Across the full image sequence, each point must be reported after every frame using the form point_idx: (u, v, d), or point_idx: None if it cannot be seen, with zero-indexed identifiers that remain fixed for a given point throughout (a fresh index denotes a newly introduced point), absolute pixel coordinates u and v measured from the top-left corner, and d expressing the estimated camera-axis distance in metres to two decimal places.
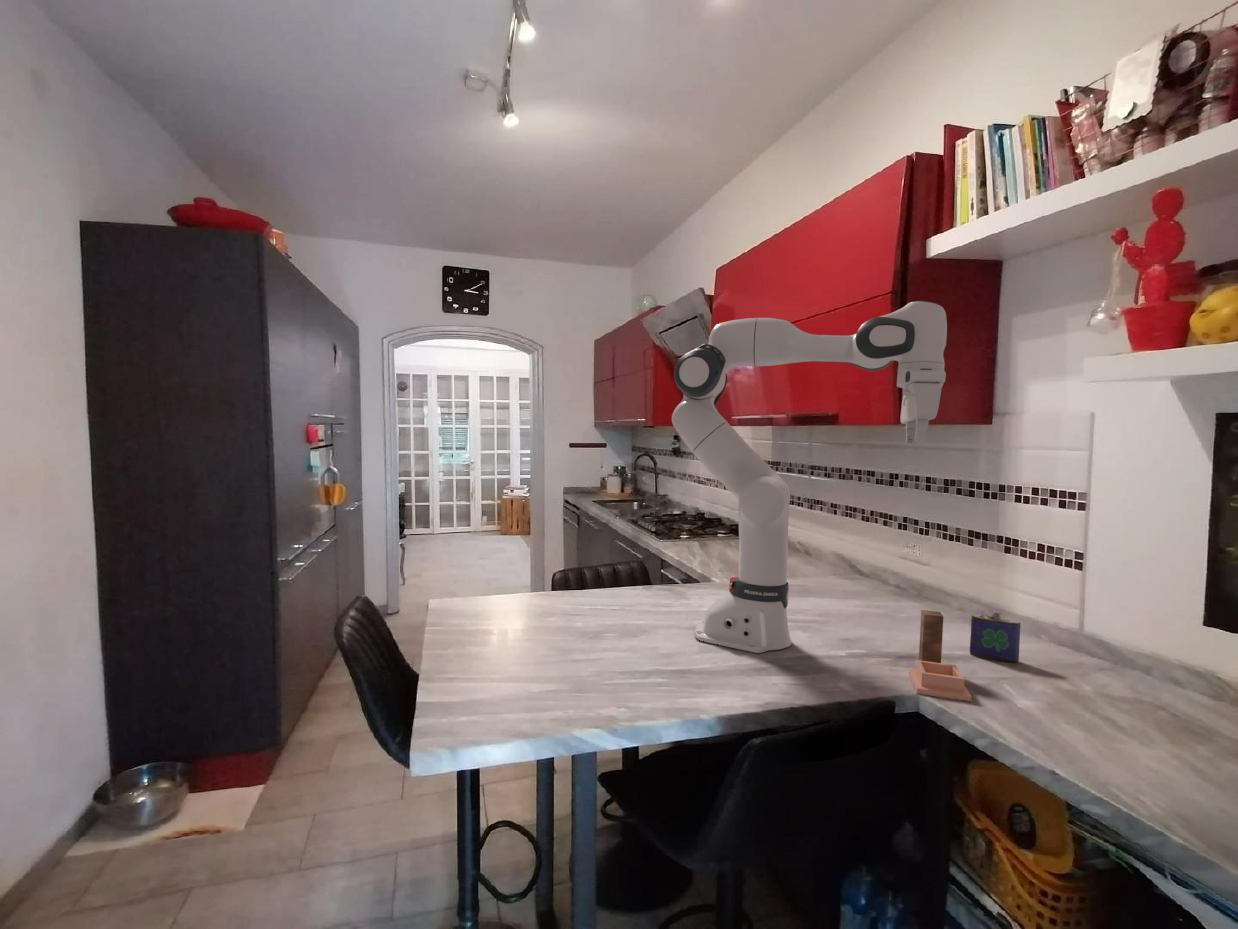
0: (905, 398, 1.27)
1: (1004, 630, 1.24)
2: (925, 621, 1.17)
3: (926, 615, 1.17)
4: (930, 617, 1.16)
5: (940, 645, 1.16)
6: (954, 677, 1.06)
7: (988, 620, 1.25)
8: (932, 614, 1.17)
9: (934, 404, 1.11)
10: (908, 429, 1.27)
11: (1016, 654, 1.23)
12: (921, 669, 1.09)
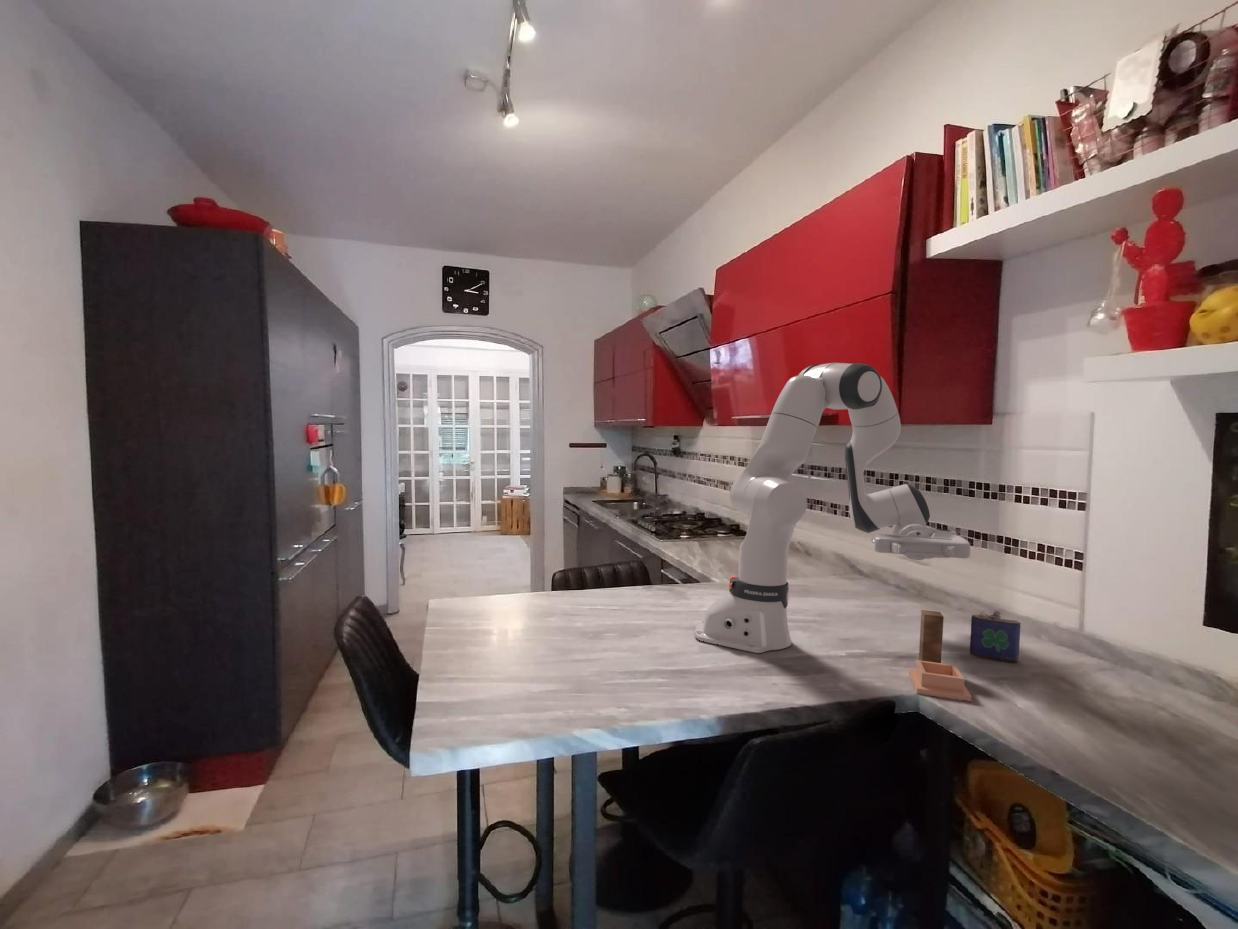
0: (893, 535, 1.40)
1: (1004, 630, 1.24)
2: (925, 621, 1.17)
3: (926, 615, 1.17)
4: (930, 617, 1.16)
5: (940, 645, 1.16)
6: (954, 677, 1.06)
7: (988, 620, 1.25)
8: (932, 614, 1.17)
9: None
10: None
11: (1016, 654, 1.23)
12: (921, 669, 1.09)
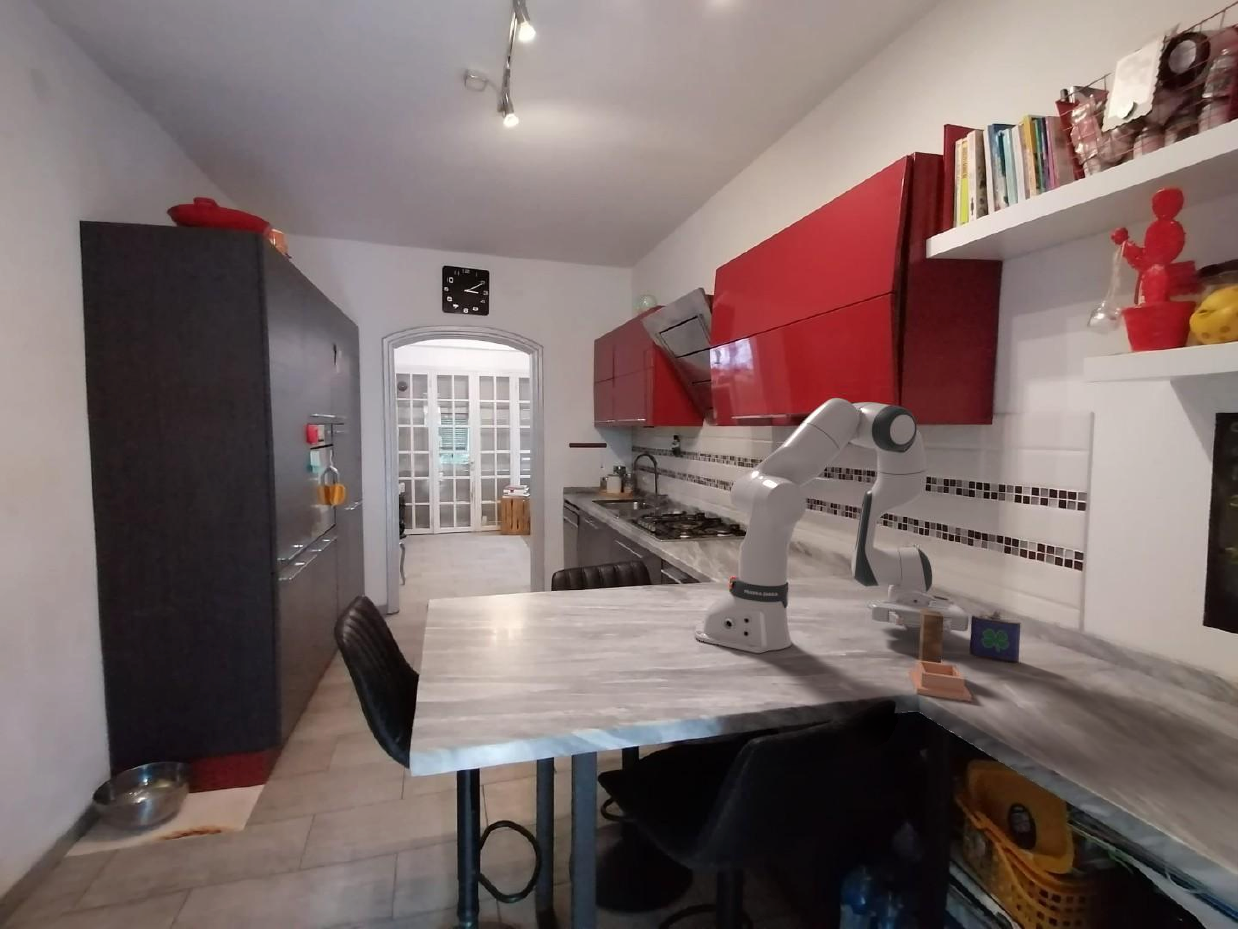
0: (890, 602, 1.37)
1: (1004, 630, 1.24)
2: (925, 621, 1.17)
3: (926, 615, 1.17)
4: (930, 617, 1.16)
5: (940, 645, 1.16)
6: (954, 677, 1.06)
7: (988, 620, 1.25)
8: (932, 614, 1.17)
9: None
10: None
11: (1016, 654, 1.23)
12: (921, 669, 1.09)
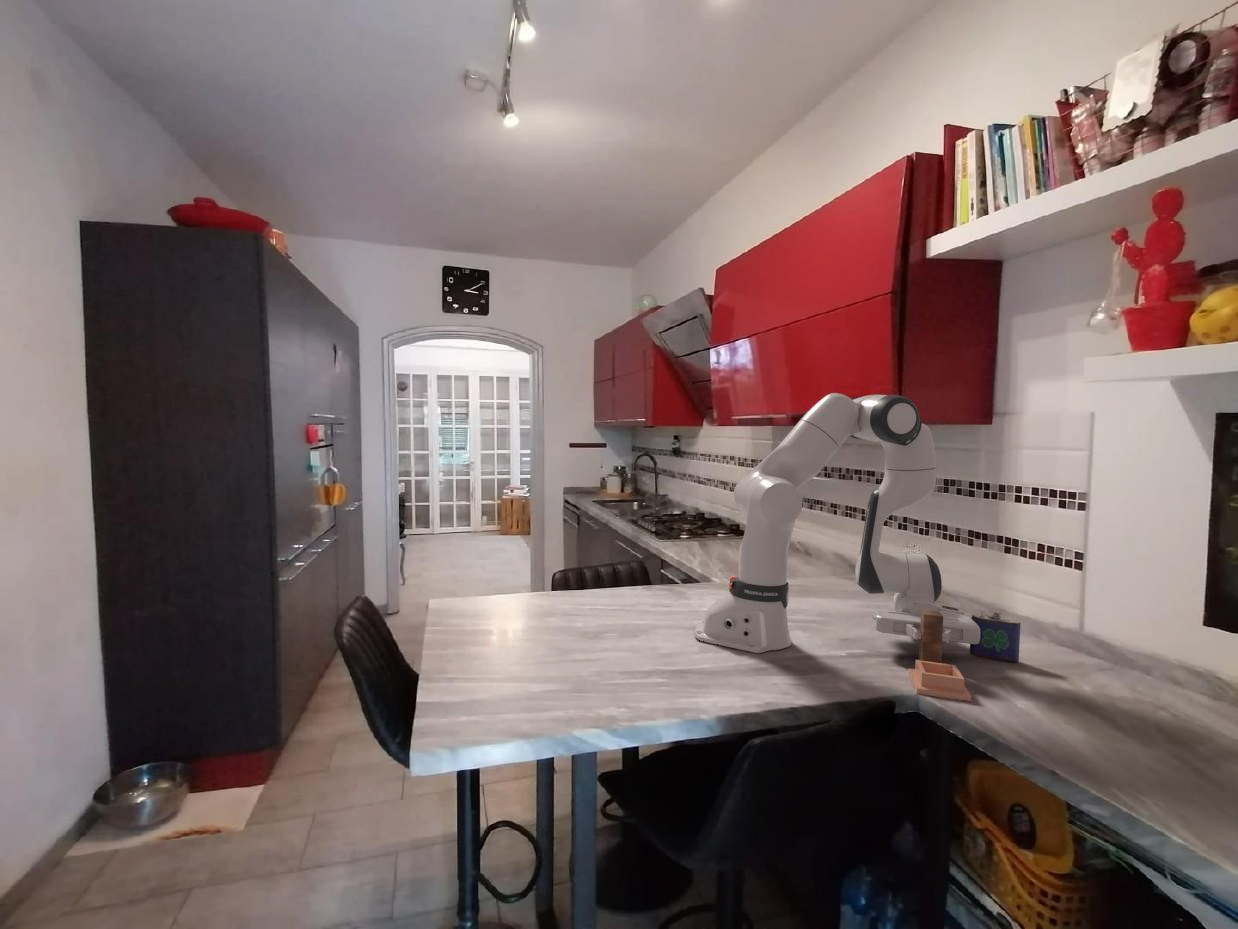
0: (896, 612, 1.29)
1: (1004, 630, 1.24)
2: (925, 621, 1.17)
3: (926, 615, 1.17)
4: (930, 617, 1.16)
5: (940, 645, 1.16)
6: (954, 677, 1.06)
7: (988, 620, 1.25)
8: (932, 614, 1.17)
9: None
10: None
11: (1016, 654, 1.23)
12: (921, 669, 1.09)
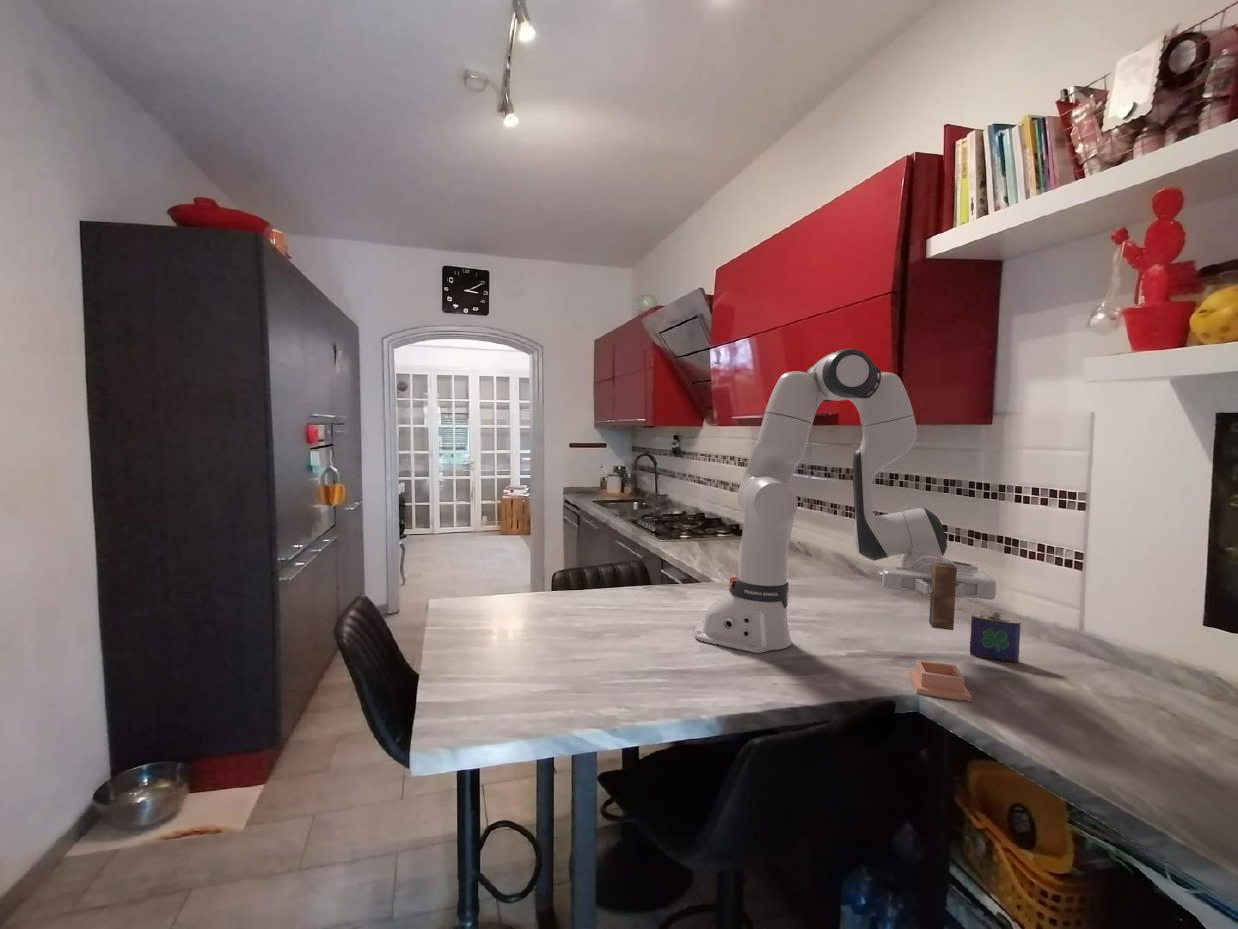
0: (904, 569, 1.20)
1: (1004, 630, 1.24)
2: (937, 573, 1.08)
3: (938, 567, 1.08)
4: (942, 569, 1.08)
5: (953, 599, 1.07)
6: (954, 677, 1.06)
7: (988, 620, 1.25)
8: (944, 566, 1.08)
9: None
10: None
11: (1016, 654, 1.23)
12: (921, 669, 1.09)
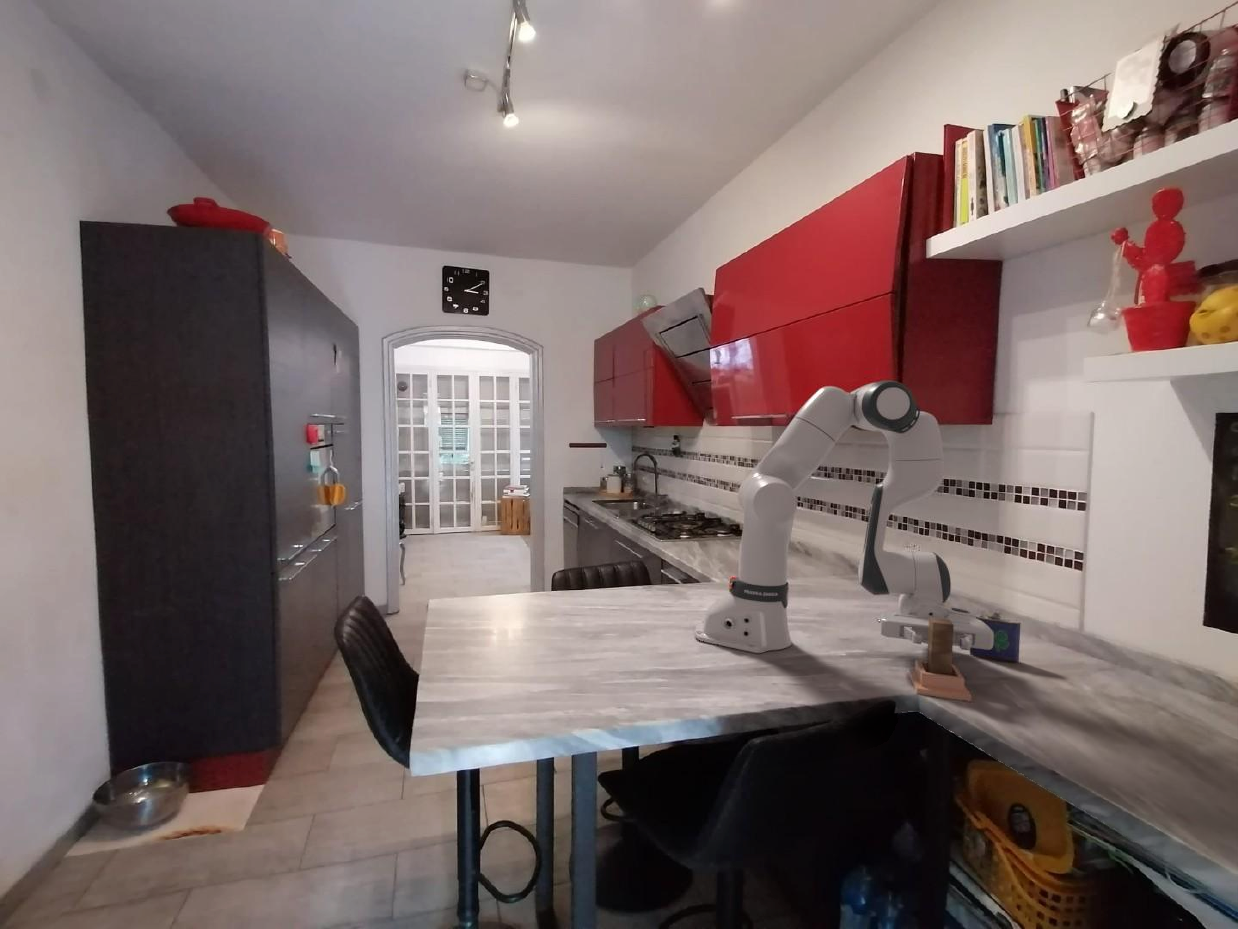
0: (902, 615, 1.20)
1: (1004, 630, 1.24)
2: (934, 630, 1.08)
3: (935, 623, 1.08)
4: (939, 625, 1.08)
5: (950, 656, 1.08)
6: (954, 677, 1.06)
7: (988, 620, 1.25)
8: (941, 622, 1.08)
9: None
10: None
11: (1016, 654, 1.23)
12: (921, 669, 1.09)
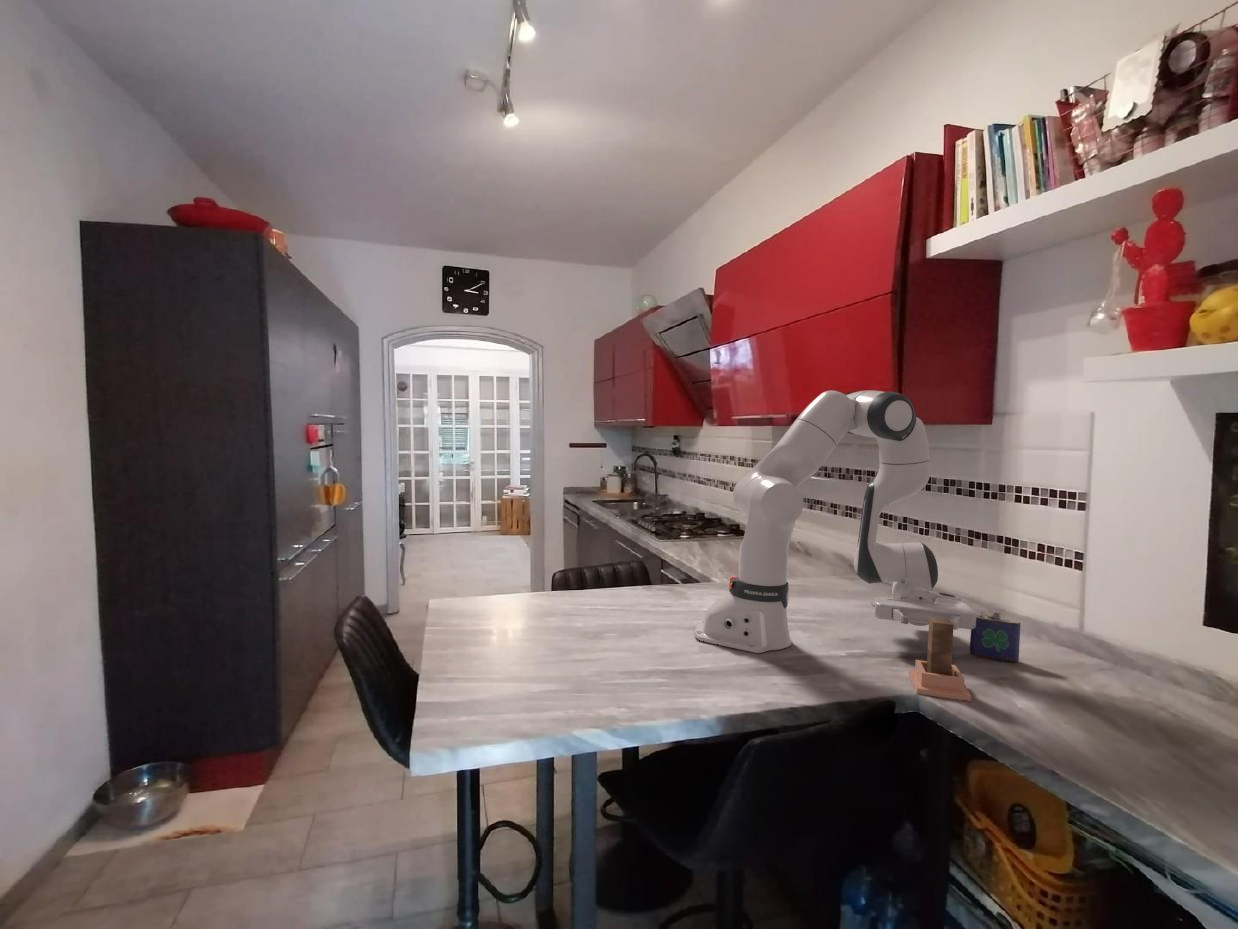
0: (895, 599, 1.32)
1: (1004, 630, 1.24)
2: (934, 630, 1.08)
3: (935, 623, 1.08)
4: (939, 625, 1.08)
5: (950, 656, 1.08)
6: (954, 677, 1.06)
7: (988, 620, 1.25)
8: (941, 622, 1.08)
9: None
10: None
11: (1016, 654, 1.23)
12: (921, 669, 1.09)
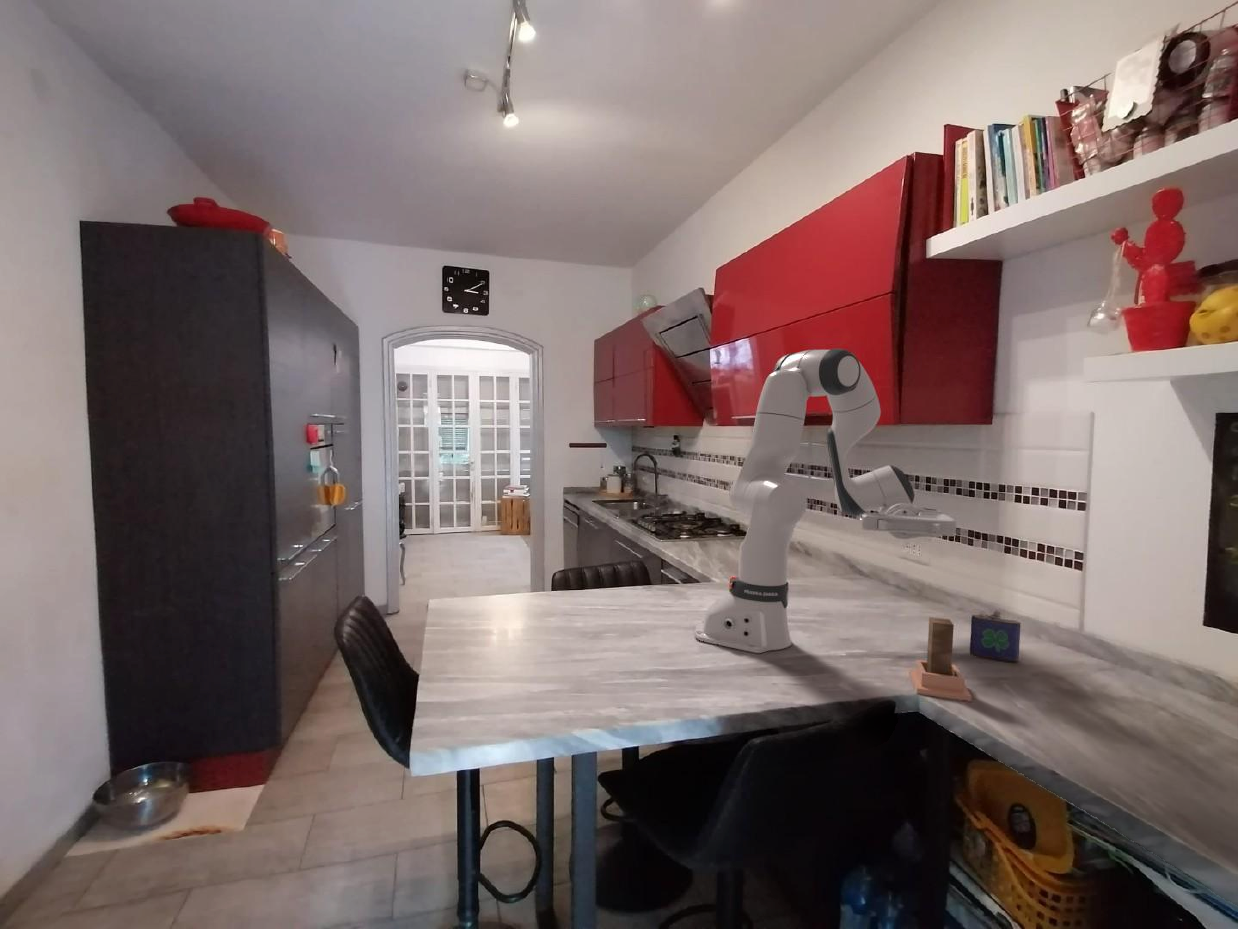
0: (880, 514, 1.40)
1: (1004, 630, 1.24)
2: (934, 630, 1.08)
3: (935, 623, 1.08)
4: (939, 625, 1.08)
5: (950, 656, 1.08)
6: (954, 677, 1.06)
7: (988, 620, 1.25)
8: (941, 622, 1.08)
9: None
10: None
11: (1016, 654, 1.23)
12: (921, 669, 1.09)
